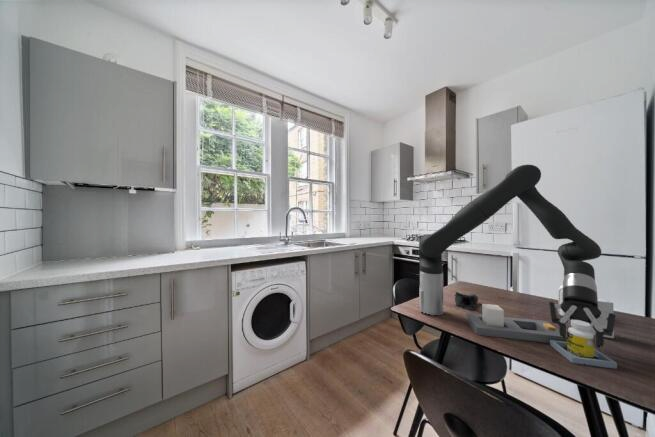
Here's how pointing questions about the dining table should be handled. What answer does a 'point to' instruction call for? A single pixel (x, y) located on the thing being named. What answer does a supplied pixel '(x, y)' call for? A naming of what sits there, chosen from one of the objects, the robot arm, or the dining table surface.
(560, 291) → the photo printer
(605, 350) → the dining table surface
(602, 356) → the blue-grey square frame
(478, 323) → the socket strip
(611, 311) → the skincare box
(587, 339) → the supplement bottle
